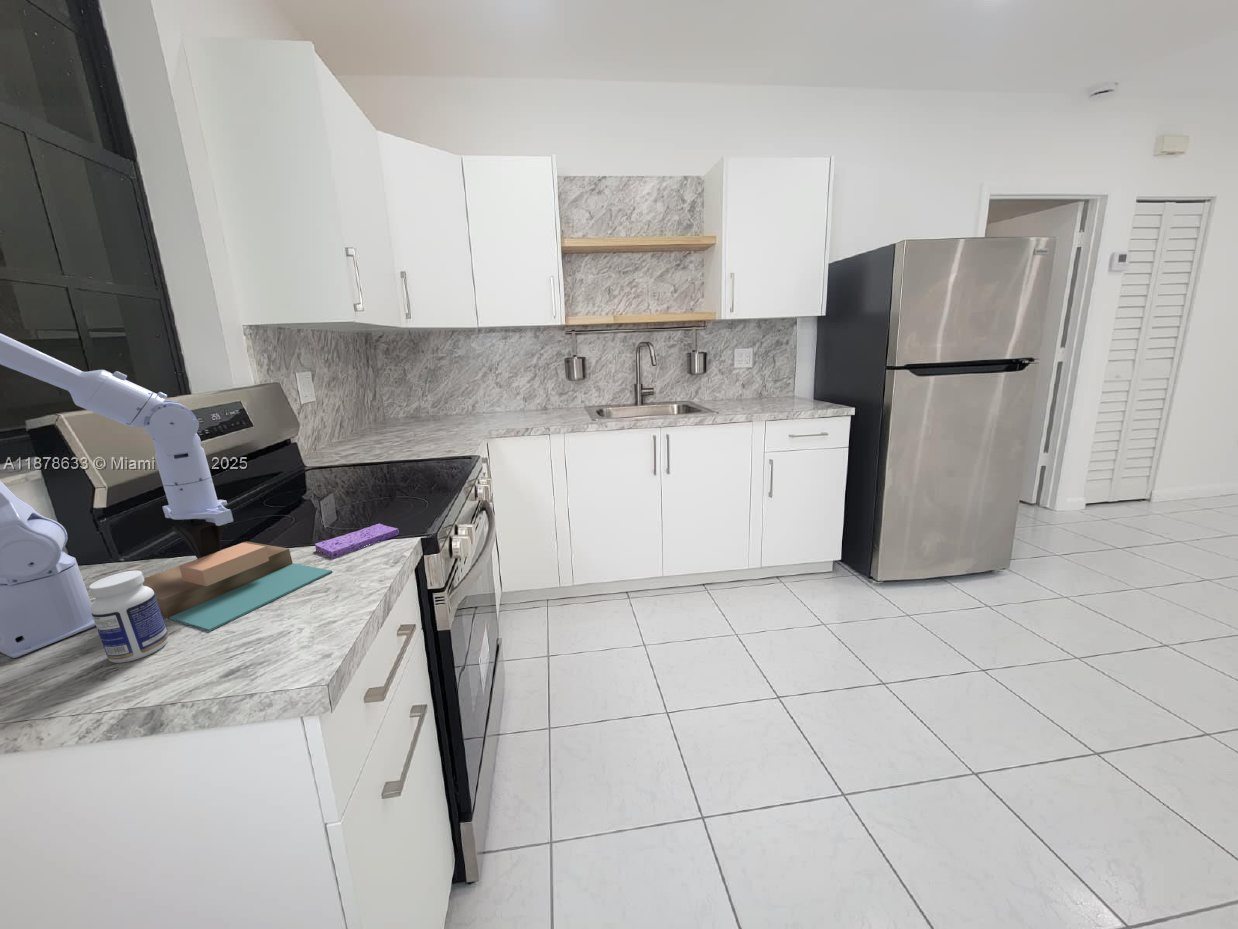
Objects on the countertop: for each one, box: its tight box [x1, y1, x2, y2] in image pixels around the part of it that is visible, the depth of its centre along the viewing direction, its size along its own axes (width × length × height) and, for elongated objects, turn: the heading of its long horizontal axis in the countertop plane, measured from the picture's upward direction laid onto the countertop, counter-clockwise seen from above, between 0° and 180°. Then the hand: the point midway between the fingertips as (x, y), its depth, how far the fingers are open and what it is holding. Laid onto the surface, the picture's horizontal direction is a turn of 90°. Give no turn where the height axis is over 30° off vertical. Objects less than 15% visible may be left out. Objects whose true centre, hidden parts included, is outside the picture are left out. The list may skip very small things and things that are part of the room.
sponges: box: [314, 523, 400, 559], centre depth 95 cm, size 7×13×2 cm, turn 143°
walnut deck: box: [143, 541, 293, 620], centre depth 81 cm, size 18×12×3 cm, turn 156°
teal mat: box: [168, 562, 333, 632], centre depth 76 cm, size 18×10×1 cm, turn 156°
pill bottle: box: [88, 570, 170, 664], centre depth 62 cm, size 6×6×10 cm
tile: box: [178, 542, 269, 586], centre depth 78 cm, size 9×6×2 cm, turn 156°
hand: (211, 562), depth 80 cm, fingers closed
